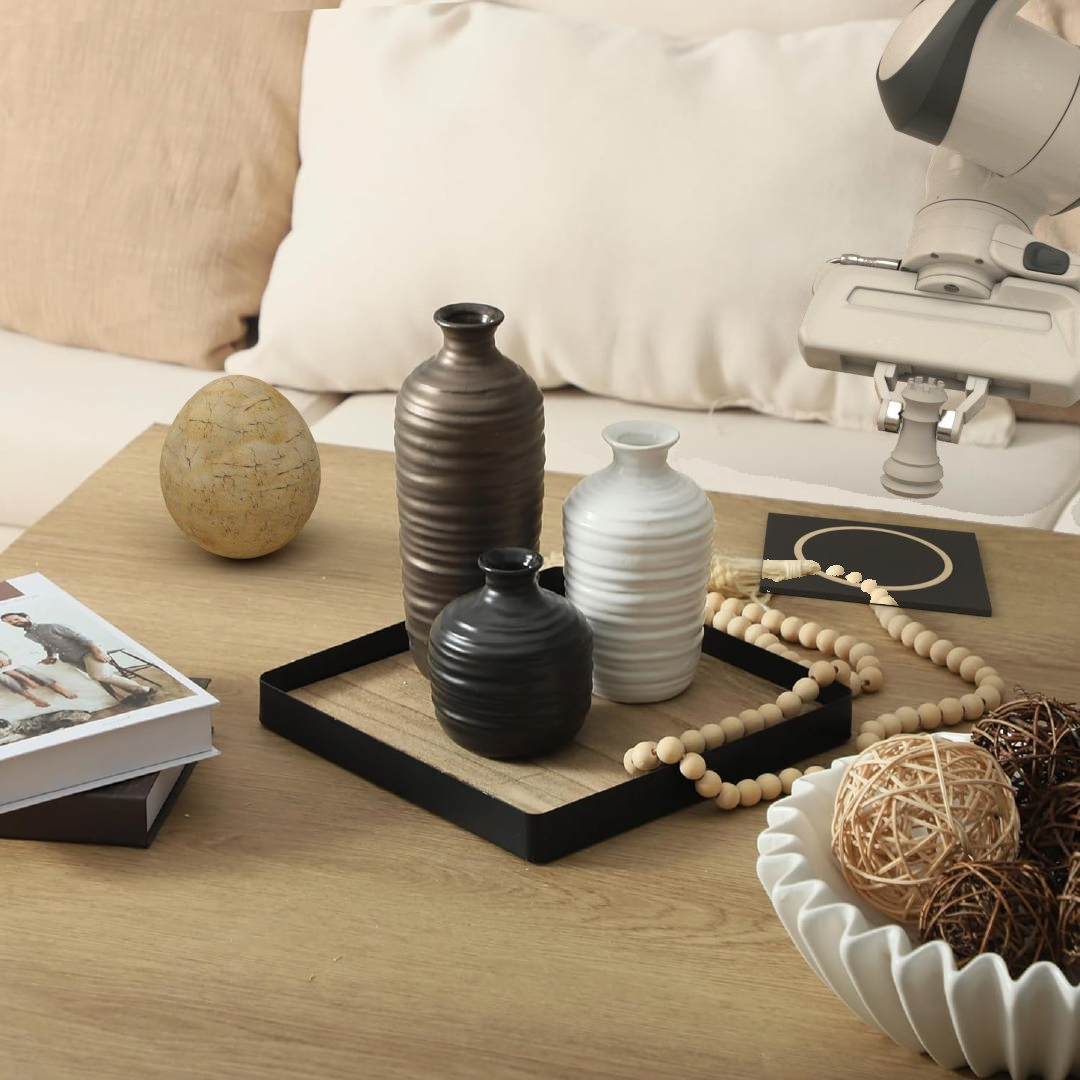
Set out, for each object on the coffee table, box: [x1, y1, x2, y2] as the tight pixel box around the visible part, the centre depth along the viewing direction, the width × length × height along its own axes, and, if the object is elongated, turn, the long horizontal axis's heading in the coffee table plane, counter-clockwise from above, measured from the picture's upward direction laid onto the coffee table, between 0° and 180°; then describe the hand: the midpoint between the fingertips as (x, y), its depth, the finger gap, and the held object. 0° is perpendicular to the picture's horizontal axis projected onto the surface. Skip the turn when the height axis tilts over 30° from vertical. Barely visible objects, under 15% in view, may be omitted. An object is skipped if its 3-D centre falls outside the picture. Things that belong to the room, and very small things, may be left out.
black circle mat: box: [758, 512, 993, 618], centre depth 123 cm, size 18×16×1 cm
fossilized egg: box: [159, 374, 322, 560], centre depth 118 cm, size 13×13×15 cm
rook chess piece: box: [879, 377, 949, 500], centre depth 104 cm, size 4×4×8 cm
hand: (917, 434), depth 103 cm, fingers closed on rook chess piece, 3 cm apart
